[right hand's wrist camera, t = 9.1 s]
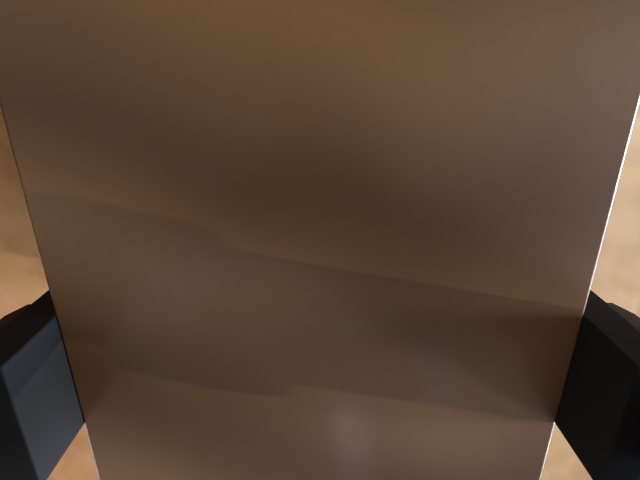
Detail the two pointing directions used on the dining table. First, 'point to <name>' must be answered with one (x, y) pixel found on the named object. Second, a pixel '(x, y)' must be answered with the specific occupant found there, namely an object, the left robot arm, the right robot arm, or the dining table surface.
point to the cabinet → (319, 224)
